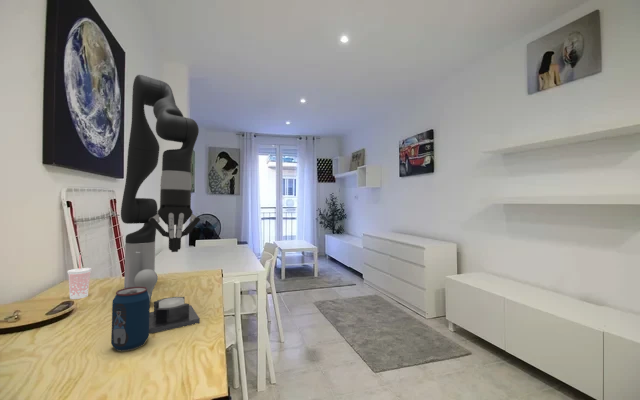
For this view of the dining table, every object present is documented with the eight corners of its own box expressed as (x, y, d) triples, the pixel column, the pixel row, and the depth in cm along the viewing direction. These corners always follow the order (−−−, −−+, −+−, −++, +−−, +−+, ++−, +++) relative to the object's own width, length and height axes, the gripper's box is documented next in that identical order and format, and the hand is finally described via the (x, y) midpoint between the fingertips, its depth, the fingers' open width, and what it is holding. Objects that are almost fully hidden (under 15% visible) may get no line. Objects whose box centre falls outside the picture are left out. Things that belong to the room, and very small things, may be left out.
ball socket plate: (143, 317, 78) (144, 300, 78) (191, 309, 84) (191, 293, 84) (146, 334, 68) (146, 314, 68) (199, 323, 74) (199, 305, 74)
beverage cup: (94, 295, 96) (95, 254, 96) (72, 301, 90) (73, 256, 91) (85, 293, 99) (86, 252, 99) (63, 298, 93) (64, 255, 93)
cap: (158, 314, 77) (158, 299, 77) (182, 310, 80) (182, 296, 80) (159, 322, 72) (159, 306, 72) (185, 317, 75) (185, 302, 75)
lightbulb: (146, 309, 84) (147, 272, 84) (128, 307, 85) (129, 271, 85) (161, 302, 90) (162, 267, 90) (145, 301, 91) (146, 266, 91)
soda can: (149, 335, 67) (151, 284, 68) (147, 348, 61) (148, 292, 61) (114, 341, 64) (115, 287, 64) (107, 355, 58) (109, 296, 58)
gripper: (199, 190, 85) (197, 248, 85) (147, 187, 77) (145, 251, 77) (204, 189, 79) (202, 251, 78) (148, 186, 71) (146, 255, 71)
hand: (174, 251), depth 78 cm, fingers closed
